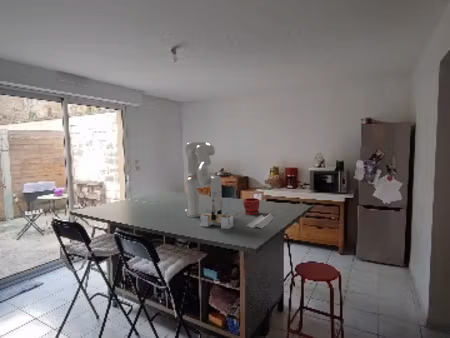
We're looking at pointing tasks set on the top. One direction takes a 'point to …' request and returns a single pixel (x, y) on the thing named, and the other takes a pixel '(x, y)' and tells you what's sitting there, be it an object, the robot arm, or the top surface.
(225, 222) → the cup brackets
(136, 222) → the top surface
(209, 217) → the beige wooden bar
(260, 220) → the crown molding
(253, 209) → the plant pot
